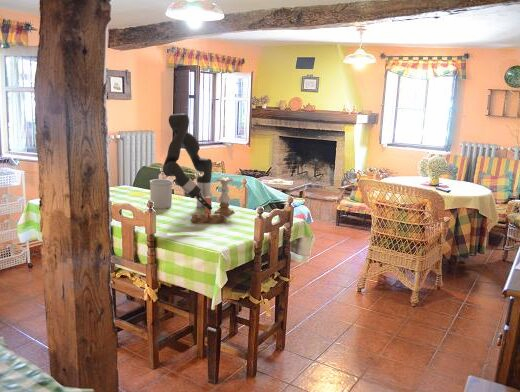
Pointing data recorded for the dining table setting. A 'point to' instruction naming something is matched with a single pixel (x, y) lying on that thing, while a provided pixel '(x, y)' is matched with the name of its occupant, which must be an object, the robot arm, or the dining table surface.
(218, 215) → the offcut block
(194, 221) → the rack
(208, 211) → the slat
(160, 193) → the utensil holder
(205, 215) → the offcut block
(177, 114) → the robot arm
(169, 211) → the dining table surface
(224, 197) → the candle holder
